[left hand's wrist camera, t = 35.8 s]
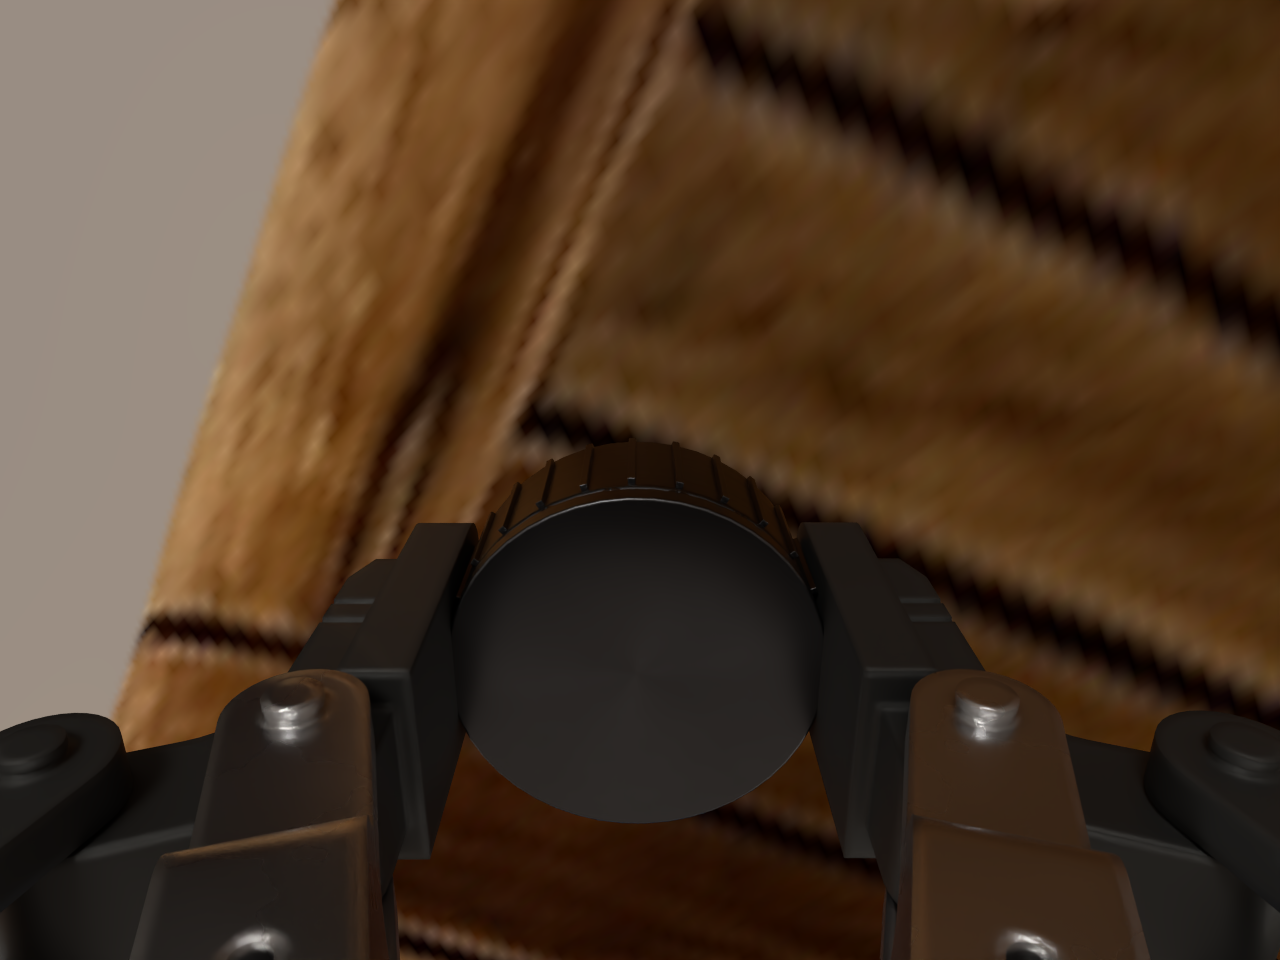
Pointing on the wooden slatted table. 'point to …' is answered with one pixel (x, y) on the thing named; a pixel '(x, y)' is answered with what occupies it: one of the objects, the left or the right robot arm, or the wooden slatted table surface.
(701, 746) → the cap
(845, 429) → the wooden slatted table surface
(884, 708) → the left robot arm
